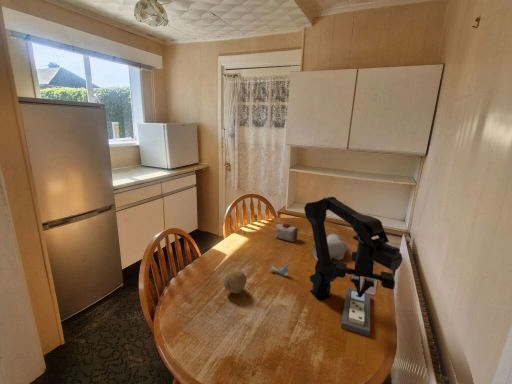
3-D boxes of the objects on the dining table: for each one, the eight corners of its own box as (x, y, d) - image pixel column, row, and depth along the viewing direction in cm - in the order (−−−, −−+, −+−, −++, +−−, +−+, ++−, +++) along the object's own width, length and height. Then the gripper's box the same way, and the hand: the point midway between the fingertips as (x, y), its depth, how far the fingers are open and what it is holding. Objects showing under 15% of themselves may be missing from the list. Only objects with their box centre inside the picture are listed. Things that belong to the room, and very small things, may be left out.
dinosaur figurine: (283, 279, 121) (270, 267, 123) (298, 263, 116) (284, 250, 118) (281, 282, 119) (268, 270, 121) (296, 265, 113) (282, 253, 115)
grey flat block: (369, 336, 86) (369, 331, 85) (341, 327, 89) (341, 322, 89) (369, 297, 105) (369, 293, 105) (346, 291, 109) (346, 287, 108)
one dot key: (363, 306, 100) (364, 301, 99) (350, 302, 102) (350, 297, 101) (363, 298, 104) (364, 293, 104) (350, 295, 106) (351, 290, 105)
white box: (272, 238, 158) (273, 223, 155) (278, 233, 164) (279, 219, 162) (293, 243, 151) (294, 228, 149) (298, 239, 158) (299, 224, 155)
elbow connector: (350, 264, 128) (344, 246, 147) (348, 245, 126) (342, 229, 145) (314, 267, 131) (312, 249, 151) (311, 248, 129) (310, 233, 148)
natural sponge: (225, 301, 101) (225, 279, 98) (222, 287, 109) (222, 266, 106) (248, 297, 103) (248, 276, 100) (243, 284, 111) (243, 264, 109)
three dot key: (363, 317, 94) (364, 312, 93) (348, 313, 96) (349, 308, 95) (363, 309, 98) (364, 303, 98) (349, 305, 100) (350, 299, 100)
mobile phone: (356, 288, 110) (360, 271, 123) (355, 290, 110) (359, 273, 123) (375, 294, 107) (377, 276, 119) (375, 296, 107) (377, 278, 120)
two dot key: (363, 327, 88) (364, 321, 87) (347, 322, 90) (348, 316, 89) (363, 317, 92) (364, 312, 92) (349, 313, 94) (349, 307, 94)
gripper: (395, 250, 88) (387, 290, 92) (338, 240, 95) (334, 277, 99) (398, 266, 79) (390, 309, 82) (335, 253, 85) (330, 294, 89)
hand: (359, 296), depth 89 cm, fingers closed
